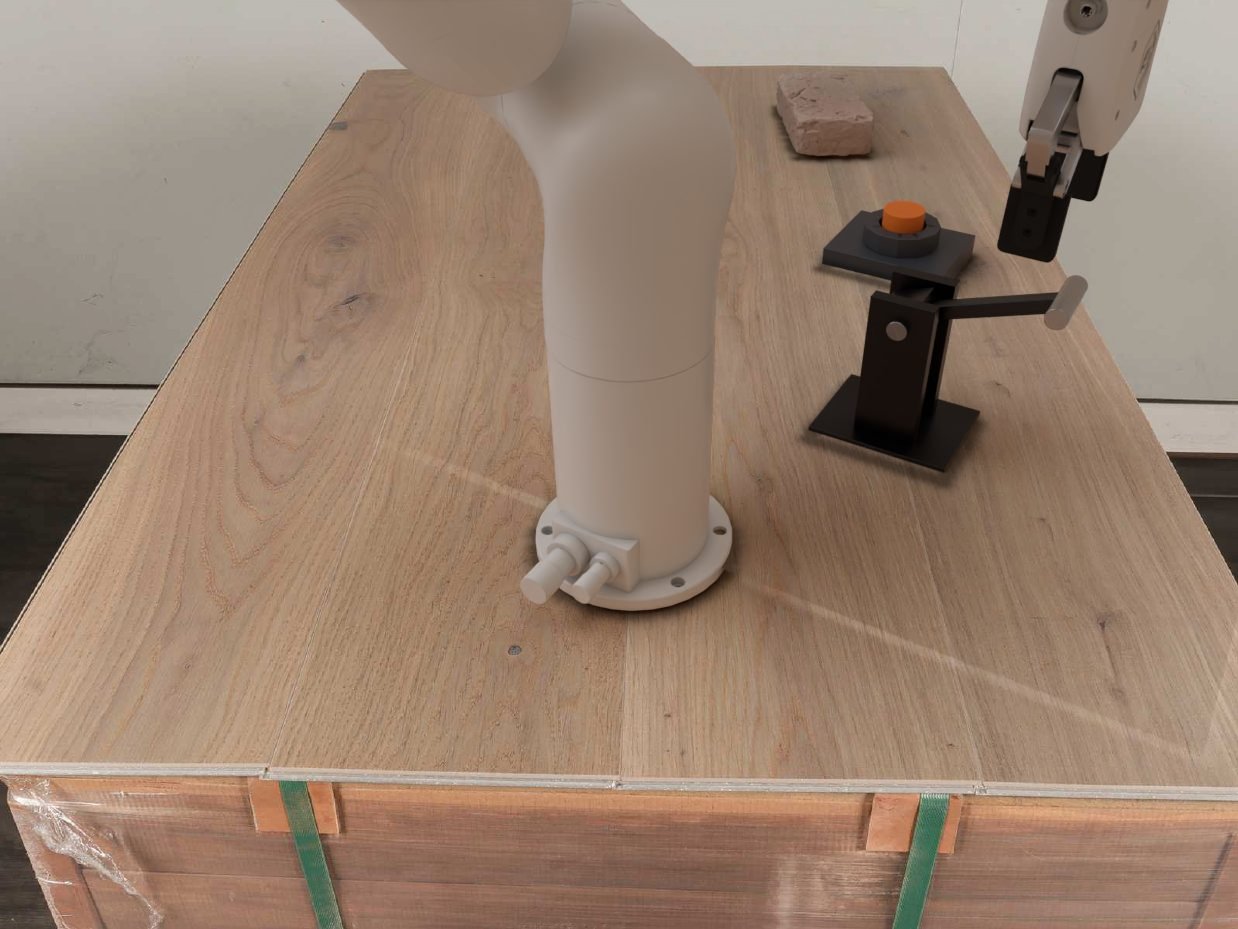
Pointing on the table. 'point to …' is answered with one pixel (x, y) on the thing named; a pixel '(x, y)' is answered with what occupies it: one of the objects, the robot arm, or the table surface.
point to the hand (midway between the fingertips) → (1048, 223)
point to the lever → (1010, 303)
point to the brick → (824, 114)
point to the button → (903, 217)
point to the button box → (897, 248)
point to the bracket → (902, 380)
